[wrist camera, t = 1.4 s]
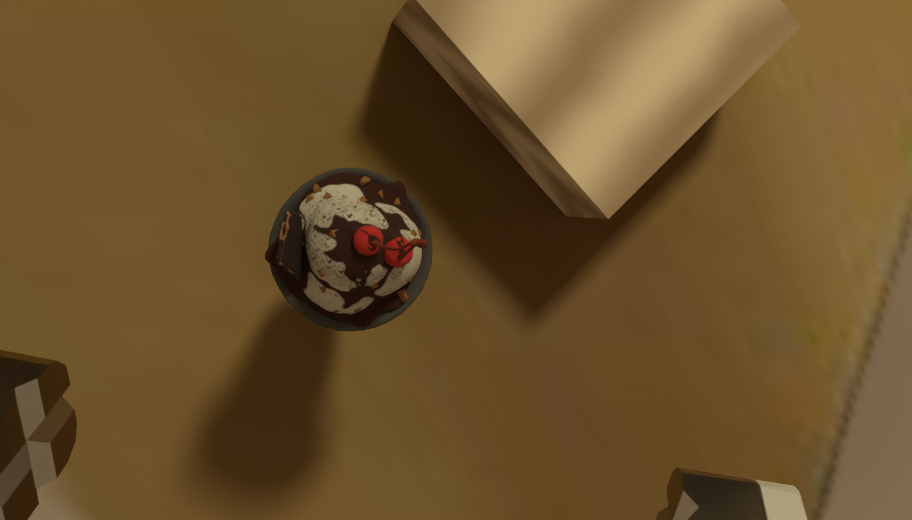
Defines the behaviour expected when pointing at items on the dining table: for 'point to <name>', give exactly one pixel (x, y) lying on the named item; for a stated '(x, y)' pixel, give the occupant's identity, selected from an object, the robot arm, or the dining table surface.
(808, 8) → the dining table surface
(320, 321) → the sundae
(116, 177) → the dining table surface
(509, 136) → the block
